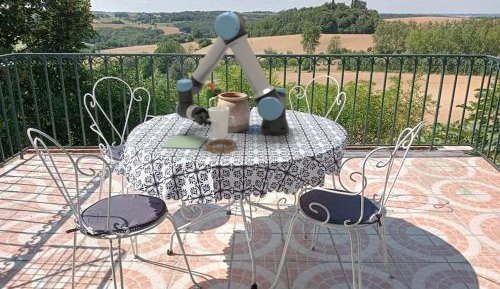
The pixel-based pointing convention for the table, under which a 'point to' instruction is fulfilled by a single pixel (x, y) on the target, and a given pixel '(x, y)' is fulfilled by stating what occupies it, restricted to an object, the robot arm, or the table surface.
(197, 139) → the mat
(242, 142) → the table surface
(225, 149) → the collar
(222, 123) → the foam cup
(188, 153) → the table surface
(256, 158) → the table surface
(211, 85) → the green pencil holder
